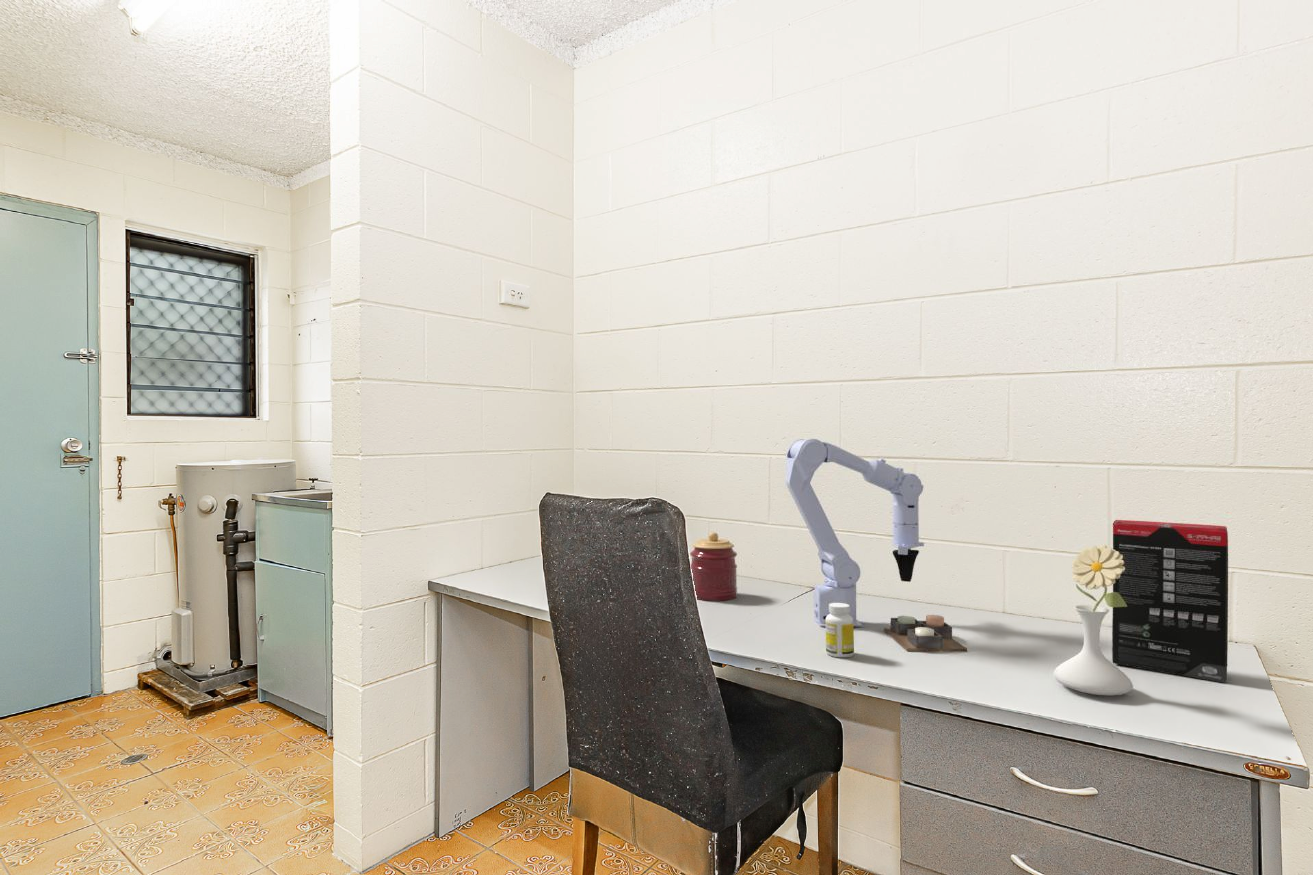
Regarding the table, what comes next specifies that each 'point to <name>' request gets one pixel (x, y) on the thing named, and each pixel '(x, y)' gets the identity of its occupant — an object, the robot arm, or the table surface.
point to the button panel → (923, 637)
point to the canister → (714, 569)
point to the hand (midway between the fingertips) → (906, 581)
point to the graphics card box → (1172, 598)
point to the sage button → (906, 619)
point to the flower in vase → (1095, 626)
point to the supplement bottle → (839, 631)
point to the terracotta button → (934, 621)
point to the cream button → (924, 631)
